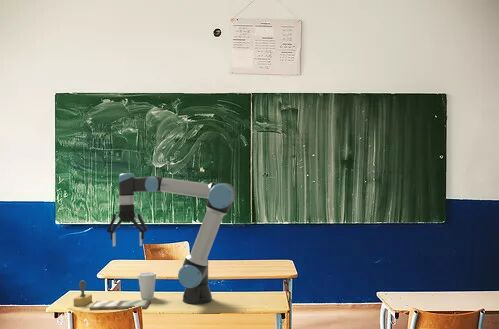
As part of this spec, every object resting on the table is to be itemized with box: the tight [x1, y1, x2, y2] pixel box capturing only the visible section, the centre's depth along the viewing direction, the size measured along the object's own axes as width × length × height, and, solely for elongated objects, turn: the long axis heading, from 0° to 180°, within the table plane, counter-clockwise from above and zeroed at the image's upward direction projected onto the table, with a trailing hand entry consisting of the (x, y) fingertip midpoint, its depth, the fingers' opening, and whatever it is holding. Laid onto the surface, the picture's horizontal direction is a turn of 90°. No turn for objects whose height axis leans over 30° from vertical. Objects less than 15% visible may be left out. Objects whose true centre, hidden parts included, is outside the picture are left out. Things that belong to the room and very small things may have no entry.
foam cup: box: [137, 271, 157, 300], centre depth 296 cm, size 10×9×13 cm
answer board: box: [89, 299, 152, 311], centre depth 281 cm, size 28×13×1 cm, turn 91°
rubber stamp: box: [73, 280, 93, 307], centre depth 287 cm, size 10×6×12 cm, turn 172°
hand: (127, 245), depth 279 cm, fingers open, 13 cm apart
